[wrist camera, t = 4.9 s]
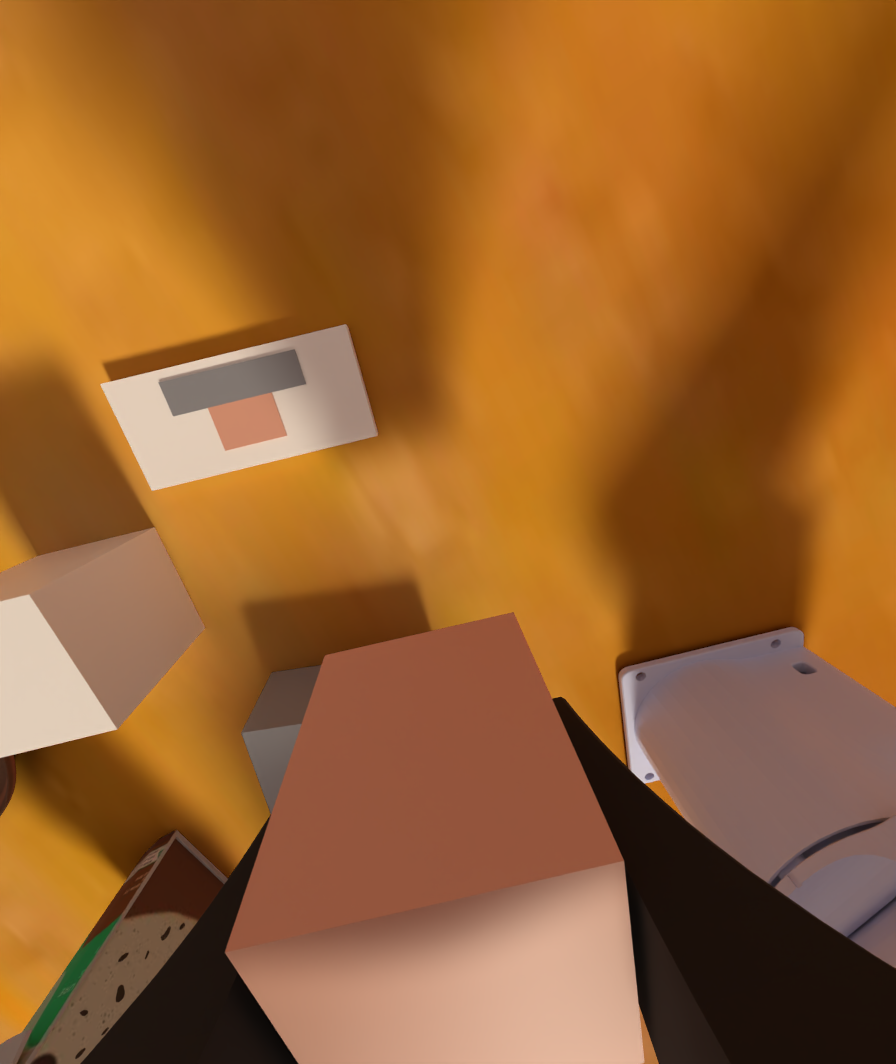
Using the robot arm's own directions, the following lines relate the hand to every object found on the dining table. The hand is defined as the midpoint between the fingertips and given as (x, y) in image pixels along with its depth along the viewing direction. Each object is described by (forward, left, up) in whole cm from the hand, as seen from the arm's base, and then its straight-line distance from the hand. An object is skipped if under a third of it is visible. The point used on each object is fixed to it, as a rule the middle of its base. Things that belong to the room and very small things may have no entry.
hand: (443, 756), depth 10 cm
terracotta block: (0, 0, -2) cm, 2 cm away
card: (+5, -9, -9) cm, 14 cm away
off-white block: (+13, -3, -10) cm, 16 cm away
